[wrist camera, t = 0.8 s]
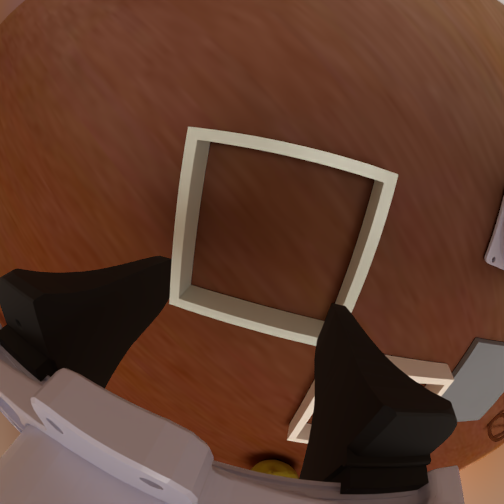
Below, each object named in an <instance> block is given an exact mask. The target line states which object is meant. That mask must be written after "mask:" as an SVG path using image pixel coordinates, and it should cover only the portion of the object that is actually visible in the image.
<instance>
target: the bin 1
mask: <svg viewBox="0 0 504 504" xmlns="http://www.w3.org/2000/svg"><path fill="white" fill-rule="evenodd" d="M210 142H216V143H223V144H229V145H235V146H241V147H246V148H252V149H257V150H262V151H267V152H272V153H277V154H281V155H286V156H290V157H295V158H299V159H303V160H307V161H311V162H315V163H319V164H323V165H327V166H330V167H334V168H338V169H341V170H345V171H348V172H351V173H355V174H358V175H361V176H365V177H368V178H371V179H374V180H375V181H374V185H373V188H372V192H371V196H370V200H369V203H368V207H367V210H366V214H365V217H364V220H363V224H362V227H361V230H360V233H359V237H358V240H357V243H356V246H355V249H354V252H353V255H352V258H351V261H350V264H349V267H348V270H347V272H346V275H345V278H344V281H343V283H342V286H341V289H340V291H339V294H338V297H337V299H336V302H335V304H339V305H343V306H346V307H347V309H348V310H349V311H350V312H351V313H352V310H353V308H354V306H355V303H356V301H357V298H358V296H359V294H360V291H361V289H362V286H363V284H364V281H365V278H366V276H367V273H368V271H369V268H370V265H371V262H372V260H373V257H374V254H375V251H376V248H377V245H378V243H379V240H380V237H381V234H382V230H383V227H384V224H385V221H386V218H387V214H388V211H389V208H390V204H391V201H392V197H393V194H394V190H395V186H396V182H397V178H398V174H396V173H393V172H390V171H387V170H384V169H381V168H378V167H375V166H372V165H369V164H366V163H363V162H360V161H356V160H353V159H350V158H346V157H343V156H339V155H336V154H332V153H328V152H324V151H321V150H317V149H313V148H309V147H304V146H300V145H296V144H291V143H287V142H282V141H277V140H272V139H267V138H262V137H257V136H251V135H245V134H239V133H233V132H226V131H219V130H212V129H204V128H195V127H188V131H187V136H186V142H185V149H184V155H183V161H182V168H181V175H180V183H179V191H178V199H177V208H176V217H175V227H174V238H173V250H172V263H171V280H170V301H169V304H171V305H174V306H177V307H180V308H183V309H186V310H189V311H192V312H195V313H198V314H201V315H205V316H208V317H211V318H214V319H217V320H221V321H224V322H227V323H231V324H234V325H237V326H241V327H244V328H248V329H251V330H255V331H259V332H262V333H266V334H270V335H274V336H277V337H281V338H285V339H289V340H293V341H297V342H301V343H306V344H310V345H314V346H316V344H317V339H318V336H319V334H320V331H321V329H322V327H323V324H324V322H325V321H322V320H317V319H313V318H309V317H305V316H301V315H297V314H293V313H289V312H285V311H282V310H278V309H274V308H270V307H266V306H263V305H259V304H255V303H252V302H248V301H245V300H241V299H238V298H234V297H231V296H227V295H224V294H220V293H217V292H213V291H210V290H207V289H203V288H200V287H197V286H194V285H191V278H192V269H193V259H194V250H195V242H196V234H197V226H198V218H199V211H200V204H201V197H202V190H203V183H204V177H205V171H206V164H207V158H208V153H209V147H210Z"/></svg>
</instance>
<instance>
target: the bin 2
mask: <svg viewBox="0 0 504 504" xmlns="http://www.w3.org/2000/svg"><path fill="white" fill-rule="evenodd" d="M385 356H386V357H387V358H388V359H389V360H390V361H391V362H392V363H393V364H394V365H396V366H397V367H398V368H399V369H400V370H402V371H403V372H404V373H405V374H406V375H408V376H409V377H410V378H412V379H413V380H414V381H416V382H417V383H424V384H426V386H425V388H427V389H428V390H430V391H431V392H433V393H435V394H437V395H439V396H442V395H443V394H444V392H445V391H446V390H447V389H448V387H449V386H450V385H451V384H452V382H453V381H454V378H453V375H452V373H451V371H450V369H449V367H448V364H445V363H437V362H429V361H422V360H415V359H408V358H402V357H396V356H390V355H385ZM314 398H315V379H314V381H313V383H312V385H311V387H310V389H309V391H308V392H307V394H306V396H305V398H304V400H303V401H302V403H301V405H300V407H299V409H298V410H297V412H296V414H295V415H294V417H293V419H292V420H291V422H290V424H289V430H288V437H287V440H290V441H295V442H301V443H307V444H308V441H309V436H310V430H311V424H308V423H307V421H308V420H309V418H310V417H311V415H312V414H313V411H314Z"/></svg>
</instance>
